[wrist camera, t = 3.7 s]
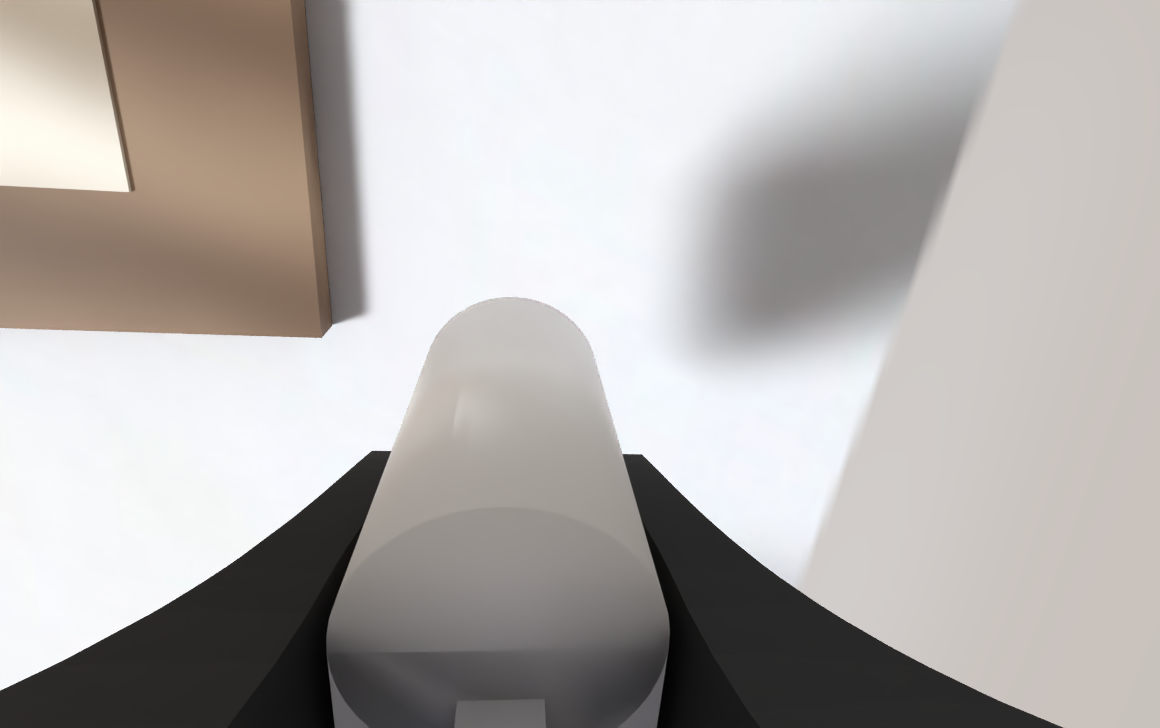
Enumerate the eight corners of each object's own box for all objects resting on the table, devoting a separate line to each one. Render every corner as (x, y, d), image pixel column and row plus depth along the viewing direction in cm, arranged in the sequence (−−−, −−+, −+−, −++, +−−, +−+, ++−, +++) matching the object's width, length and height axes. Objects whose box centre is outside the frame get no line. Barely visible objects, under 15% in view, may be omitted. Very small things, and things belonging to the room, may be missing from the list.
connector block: (580, 584, 13) (636, 1033, 7) (430, 585, 13) (342, 1055, 6) (603, 300, 11) (717, 574, 4) (422, 293, 10) (273, 577, 4)
